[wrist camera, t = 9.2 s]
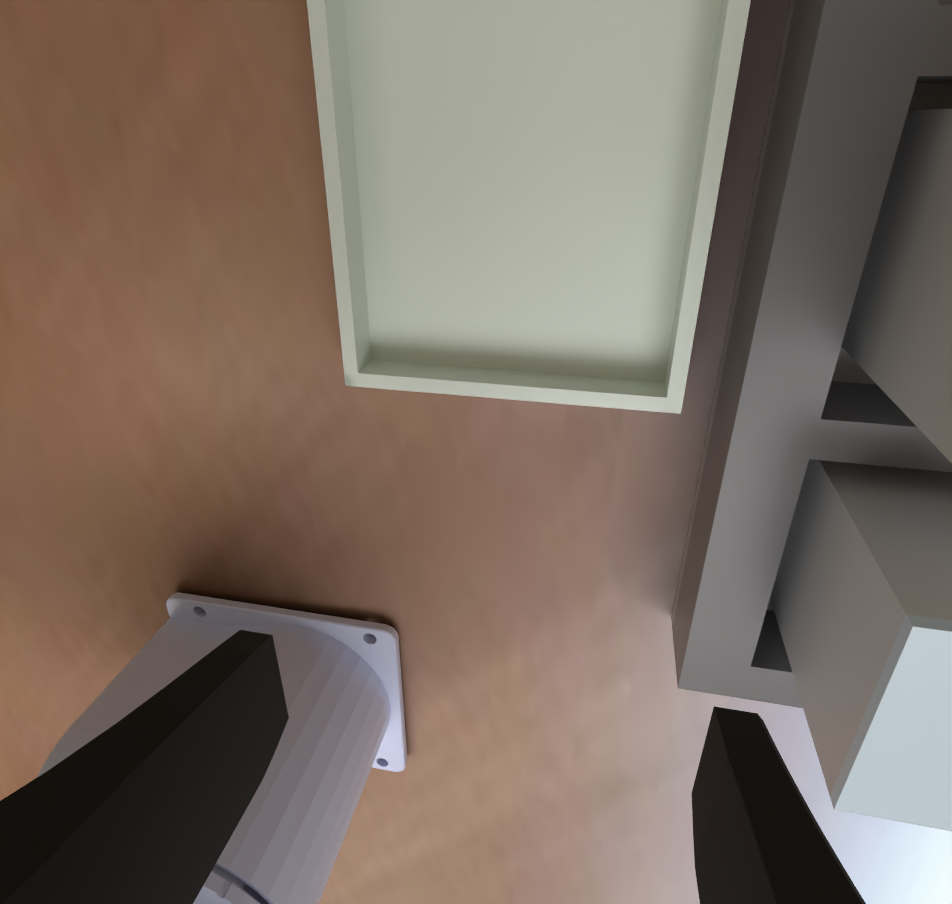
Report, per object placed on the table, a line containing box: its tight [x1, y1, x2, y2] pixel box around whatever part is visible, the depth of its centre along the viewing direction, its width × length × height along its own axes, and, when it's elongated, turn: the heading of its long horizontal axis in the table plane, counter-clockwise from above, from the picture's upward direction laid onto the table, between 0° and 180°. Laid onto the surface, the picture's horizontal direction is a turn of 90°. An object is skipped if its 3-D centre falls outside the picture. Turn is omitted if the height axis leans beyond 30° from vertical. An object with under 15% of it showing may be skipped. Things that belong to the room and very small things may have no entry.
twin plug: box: [770, 459, 952, 831], centre depth 15 cm, size 4×5×7 cm
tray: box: [307, 0, 751, 414], centre depth 15 cm, size 9×12×2 cm
